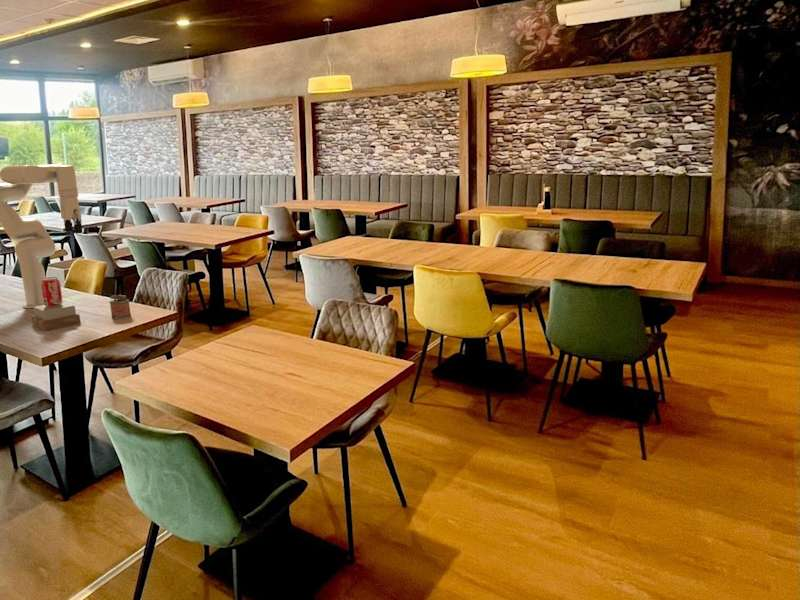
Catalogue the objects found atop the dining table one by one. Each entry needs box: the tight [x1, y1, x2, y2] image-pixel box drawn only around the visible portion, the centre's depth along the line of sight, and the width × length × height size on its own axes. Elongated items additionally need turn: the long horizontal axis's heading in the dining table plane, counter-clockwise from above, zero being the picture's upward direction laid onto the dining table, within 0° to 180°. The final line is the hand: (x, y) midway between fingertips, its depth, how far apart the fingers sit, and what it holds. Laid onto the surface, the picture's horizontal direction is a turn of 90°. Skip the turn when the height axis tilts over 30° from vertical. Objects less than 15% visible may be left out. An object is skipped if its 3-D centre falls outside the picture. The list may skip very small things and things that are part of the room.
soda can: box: [41, 276, 63, 308], centre depth 268 cm, size 7×7×12 cm
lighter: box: [109, 294, 132, 319], centre depth 280 cm, size 8×3×10 cm, turn 104°
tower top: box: [32, 300, 76, 321], centre depth 270 cm, size 12×12×4 cm
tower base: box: [31, 313, 81, 332], centre depth 271 cm, size 14×14×4 cm
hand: (74, 232), depth 284 cm, fingers open, 9 cm apart
